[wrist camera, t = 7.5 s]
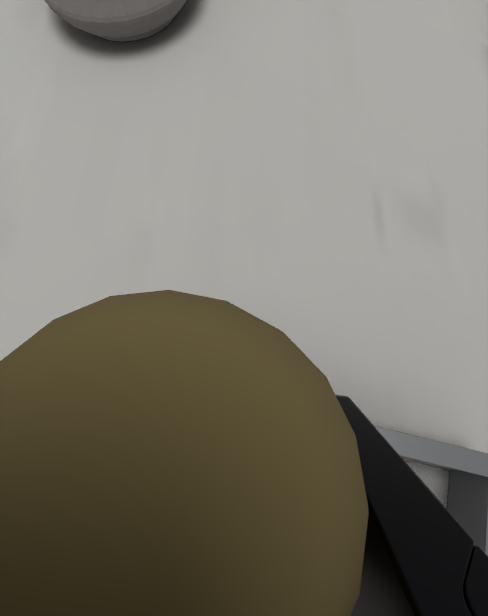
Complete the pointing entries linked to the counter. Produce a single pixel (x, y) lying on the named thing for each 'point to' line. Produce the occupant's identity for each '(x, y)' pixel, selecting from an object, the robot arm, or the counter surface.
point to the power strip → (453, 478)
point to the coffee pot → (118, 16)
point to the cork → (174, 468)
